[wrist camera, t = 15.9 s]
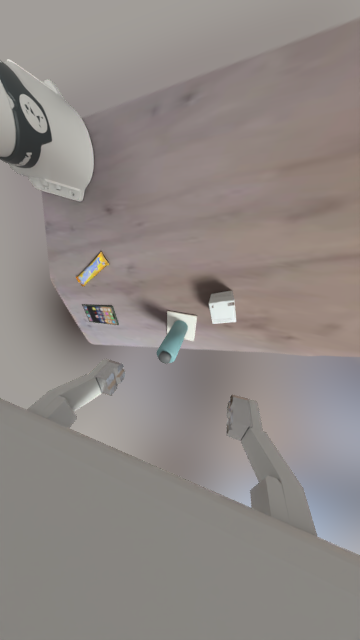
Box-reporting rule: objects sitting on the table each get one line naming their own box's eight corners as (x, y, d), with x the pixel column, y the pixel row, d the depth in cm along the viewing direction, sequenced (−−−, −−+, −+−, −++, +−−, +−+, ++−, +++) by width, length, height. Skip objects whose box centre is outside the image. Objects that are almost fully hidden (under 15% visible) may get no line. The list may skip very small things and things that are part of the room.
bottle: (173, 331, 51) (155, 363, 39) (173, 318, 48) (154, 349, 36) (187, 334, 50) (173, 368, 38) (188, 322, 47) (174, 354, 35)
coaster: (167, 334, 53) (167, 335, 53) (167, 310, 48) (167, 311, 48) (194, 340, 51) (193, 341, 51) (197, 315, 46) (196, 316, 46)
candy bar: (85, 286, 54) (81, 288, 52) (77, 276, 53) (73, 277, 51) (112, 263, 46) (108, 264, 44) (103, 250, 45) (99, 251, 43)
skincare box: (214, 312, 44) (212, 324, 38) (210, 293, 41) (207, 303, 35) (235, 309, 42) (236, 322, 36) (233, 289, 39) (234, 299, 33)
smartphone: (83, 304, 59) (80, 305, 58) (113, 305, 55) (111, 306, 54) (90, 321, 63) (88, 322, 62) (119, 323, 58) (117, 325, 57)
